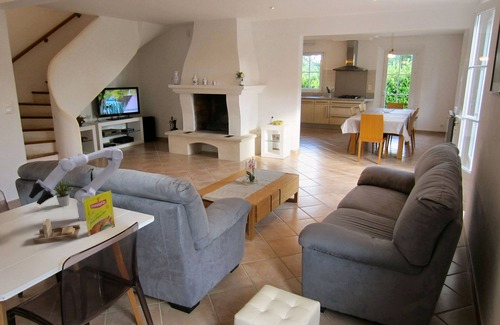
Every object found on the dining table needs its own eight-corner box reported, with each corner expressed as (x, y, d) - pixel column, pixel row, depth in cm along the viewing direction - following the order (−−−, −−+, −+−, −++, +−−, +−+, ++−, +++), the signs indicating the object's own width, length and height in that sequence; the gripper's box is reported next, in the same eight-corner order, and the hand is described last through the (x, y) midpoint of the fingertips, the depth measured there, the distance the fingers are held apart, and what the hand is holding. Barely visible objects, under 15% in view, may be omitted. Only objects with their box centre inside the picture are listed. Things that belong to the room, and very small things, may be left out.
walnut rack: (80, 229, 180) (79, 224, 179) (76, 240, 169) (75, 234, 168) (41, 234, 175) (39, 229, 174) (34, 246, 164) (33, 240, 163)
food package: (89, 238, 171) (83, 199, 165) (88, 238, 171) (82, 199, 166) (115, 226, 183) (111, 190, 178) (114, 226, 184) (110, 189, 179)
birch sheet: (52, 233, 174) (49, 218, 172) (48, 239, 168) (46, 224, 165) (48, 233, 174) (46, 219, 172) (45, 240, 167) (42, 224, 165)
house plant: (64, 211, 204) (60, 184, 200) (44, 209, 207) (40, 183, 203) (81, 202, 217) (78, 177, 213) (62, 200, 220) (58, 175, 216)
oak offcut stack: (75, 230, 177) (74, 225, 177) (72, 237, 170) (71, 232, 169) (63, 231, 176) (63, 227, 175) (60, 238, 168) (59, 234, 168)
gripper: (40, 169, 178) (20, 191, 174) (55, 180, 171) (35, 203, 167) (50, 176, 184) (31, 197, 180) (65, 186, 177) (46, 209, 173)
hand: (34, 200), depth 174 cm, fingers open, 7 cm apart
